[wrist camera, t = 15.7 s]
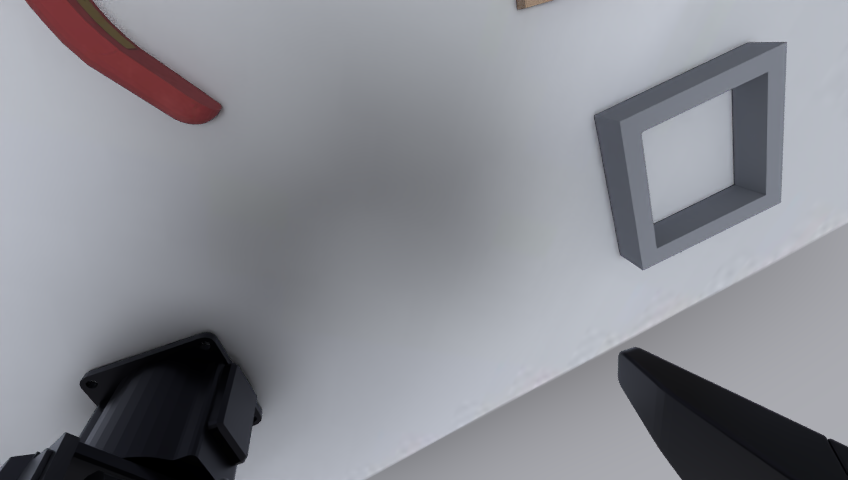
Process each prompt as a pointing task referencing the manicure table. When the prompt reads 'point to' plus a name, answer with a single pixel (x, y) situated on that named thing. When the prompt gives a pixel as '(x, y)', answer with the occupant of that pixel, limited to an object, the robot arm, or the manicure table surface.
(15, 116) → the manicure table surface
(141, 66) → the pliers
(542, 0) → the walnut pad
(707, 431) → the robot arm
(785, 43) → the gray square frame
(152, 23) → the manicure table surface
